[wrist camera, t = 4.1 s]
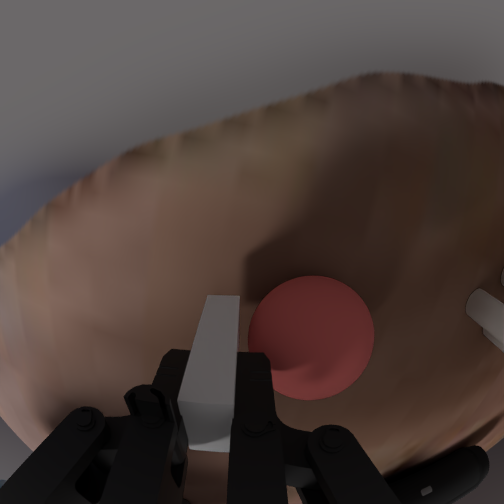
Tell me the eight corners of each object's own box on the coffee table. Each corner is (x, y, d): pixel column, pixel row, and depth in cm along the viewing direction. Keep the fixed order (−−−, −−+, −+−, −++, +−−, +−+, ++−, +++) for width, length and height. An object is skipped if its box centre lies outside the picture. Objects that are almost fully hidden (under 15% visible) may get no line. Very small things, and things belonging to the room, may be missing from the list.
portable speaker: (476, 431, 24) (499, 468, 14) (457, 457, 27) (475, 490, 17) (336, 493, 25) (348, 545, 15) (334, 508, 28) (342, 550, 18)
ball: (245, 349, 16) (244, 426, 10) (250, 255, 14) (253, 313, 8) (338, 349, 16) (369, 417, 10) (358, 261, 14) (414, 311, 9)
